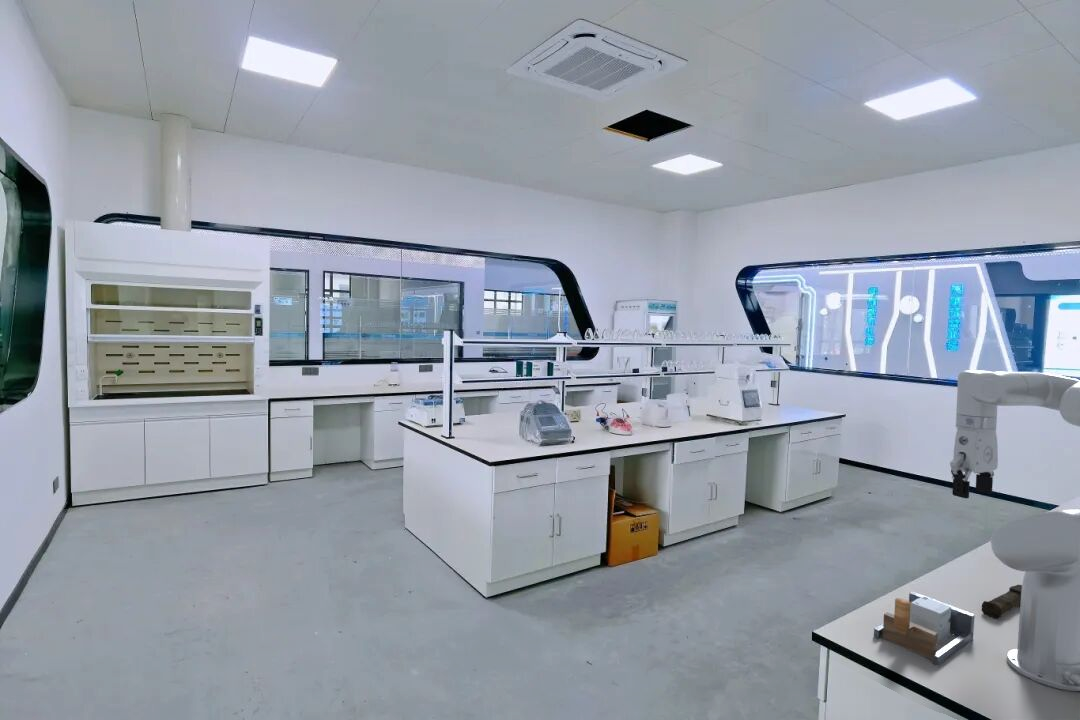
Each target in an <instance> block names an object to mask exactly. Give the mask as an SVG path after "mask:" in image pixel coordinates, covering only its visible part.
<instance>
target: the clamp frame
mask: <svg viewBox="0 0 1080 720" xmlns="http://www.w3.org/2000/svg"><path fill="white" fill-rule="evenodd" d="M921 597H926V598H929V599H931V600H934V601H937V602H940V603H943V604H946V605H948V606H950V607H951V619H950V633H951V634H950V635H952V634H954V635H955V638H954V639H953V640H951V641H950V642H949V643H947V644H946V645H944V646H943V647H941V648H940V649H938V650H937V652H936V653H934V654H933V660H932V662H931V663H932V665H934V666H937V667H938V666H940V665H941V664H943V663H944V662H945V661H947V660H948V659H950V658H951V657H952V656H954V655H955V654H956V653H958V652H959V651H961V650H962V649H963V648H964V647H966V646H967V645H968V644H969V643H971V642H973V640H974V630H975V617H976V616H975V614H974V613H972V612H969V611H966V610H963V609H961V608H959V607H956V606H953V605H950V604H948V603H945V602H942V601H939V600H937V599H934V598H932V597H929V596H926V595H924V594H921V593H918V592H916V591H911V592H909V594H908V601H909V602H910V603H911V602H913V601H915V600H916V599H919V598H921ZM954 635H953V636H954ZM873 638H874V639H876V640H879V639H881V638H883V623H881V624H880V625H878V626H876V627H875V628H873Z"/></svg>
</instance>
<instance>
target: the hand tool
mask: <svg viewBox="0 0 1080 720" xmlns="http://www.w3.org/2000/svg"><path fill="white" fill-rule="evenodd" d="M1021 591H1022V584H1016V585H1012V586H1010V587H1009V589H1008V591H1007V592H1004V593H1003V594H1000V595H998V596H997V597H994V598H993V599H990V600H989V601H987V600H984V601H983V602H982V603H981V612H982V613H983V615H984V616H986V615H987V617H989V618H991V617H992V619H995V620H999V619H1000V618H1002V617H1003V615H1004V614H1006V613H1007V612H1009V611H1011V610H1012V609H1014V608H1016V607H1019V608H1020V604H1021Z"/></svg>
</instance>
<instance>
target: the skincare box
mask: <svg viewBox="0 0 1080 720" xmlns="http://www.w3.org/2000/svg"><path fill="white" fill-rule="evenodd" d="M926 597H927V596H926ZM926 597H921V598H919V599H916V600H915V601H913V602H911V609H910V622H912V623H915V624H917V625H920V626H922V627H924V628H927V629H929V630H932V631H934V632H936V633H938V636H937V645H940V644H941V643H942V641H943V642H944V641H946V640H947V639H946V638H948V639H949V638H950V635H951V634H950V619H951V607H950V606H951V605H950V606H948V605H949V604H948V605H946V604H947V603H945V604H943V603H944V602H942V603H940V602H941V601H940V602H937V601H938V600H937V601H934V600H935V599H934V600H931V599H932V598H931V599H929V598H930V597H929V598H926ZM945 639H946V640H945ZM939 643H940V644H939Z"/></svg>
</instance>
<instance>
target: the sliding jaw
mask: <svg viewBox="0 0 1080 720" xmlns="http://www.w3.org/2000/svg"><path fill="white" fill-rule="evenodd" d="M910 609H911V603H910V602H909V599H905V598H899V597H898V598H895V600H894V614H892V613H891V612H888V611H887V612H885V613H884V614H883V623H882V624H883V637H882V638H883V639H885V640H888V641H890V642H892V643H894V644H896V645H898V646H900V647H903V648H906V649H908V650H910V651H912V652H914V653H917V654H918V655H921V656H923V657H926V658H928V659H930V660H932V661H933V654H934V653H936V652H937V651H938V650H937V647H938V644H937V636H938V633H936V632H934V631H932V630H929V629H927V628H924V627H922V626H920V625H917V624H915V623H912V622H910Z"/></svg>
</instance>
